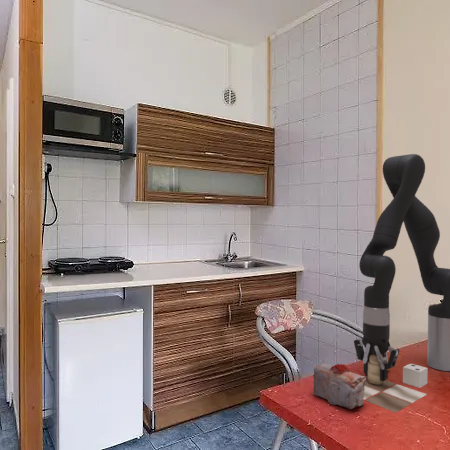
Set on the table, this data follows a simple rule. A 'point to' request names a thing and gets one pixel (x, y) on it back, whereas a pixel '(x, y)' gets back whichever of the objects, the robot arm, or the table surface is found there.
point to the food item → (339, 385)
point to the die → (415, 375)
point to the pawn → (374, 370)
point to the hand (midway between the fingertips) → (375, 377)
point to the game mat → (388, 400)
